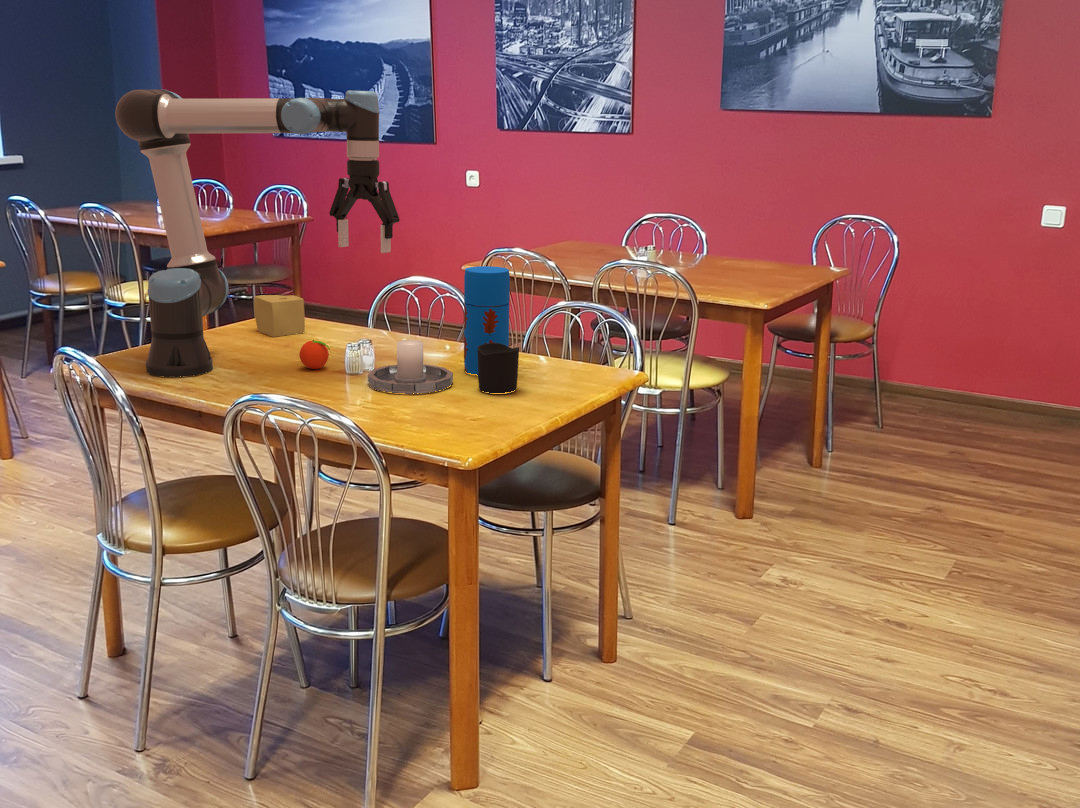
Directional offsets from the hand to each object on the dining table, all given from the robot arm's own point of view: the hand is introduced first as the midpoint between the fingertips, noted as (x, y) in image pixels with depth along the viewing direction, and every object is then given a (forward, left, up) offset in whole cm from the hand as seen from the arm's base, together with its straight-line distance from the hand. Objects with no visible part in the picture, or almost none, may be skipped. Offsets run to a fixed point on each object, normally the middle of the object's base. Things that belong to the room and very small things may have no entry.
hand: (364, 249), depth 264 cm
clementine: (-11, +7, -29) cm, 31 cm away
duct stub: (-8, -20, -28) cm, 35 cm away
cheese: (+13, +44, -29) cm, 54 cm away
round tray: (-8, -20, -28) cm, 36 cm away
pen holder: (0, -39, -29) cm, 49 cm away
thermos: (+12, -27, -29) cm, 41 cm away
